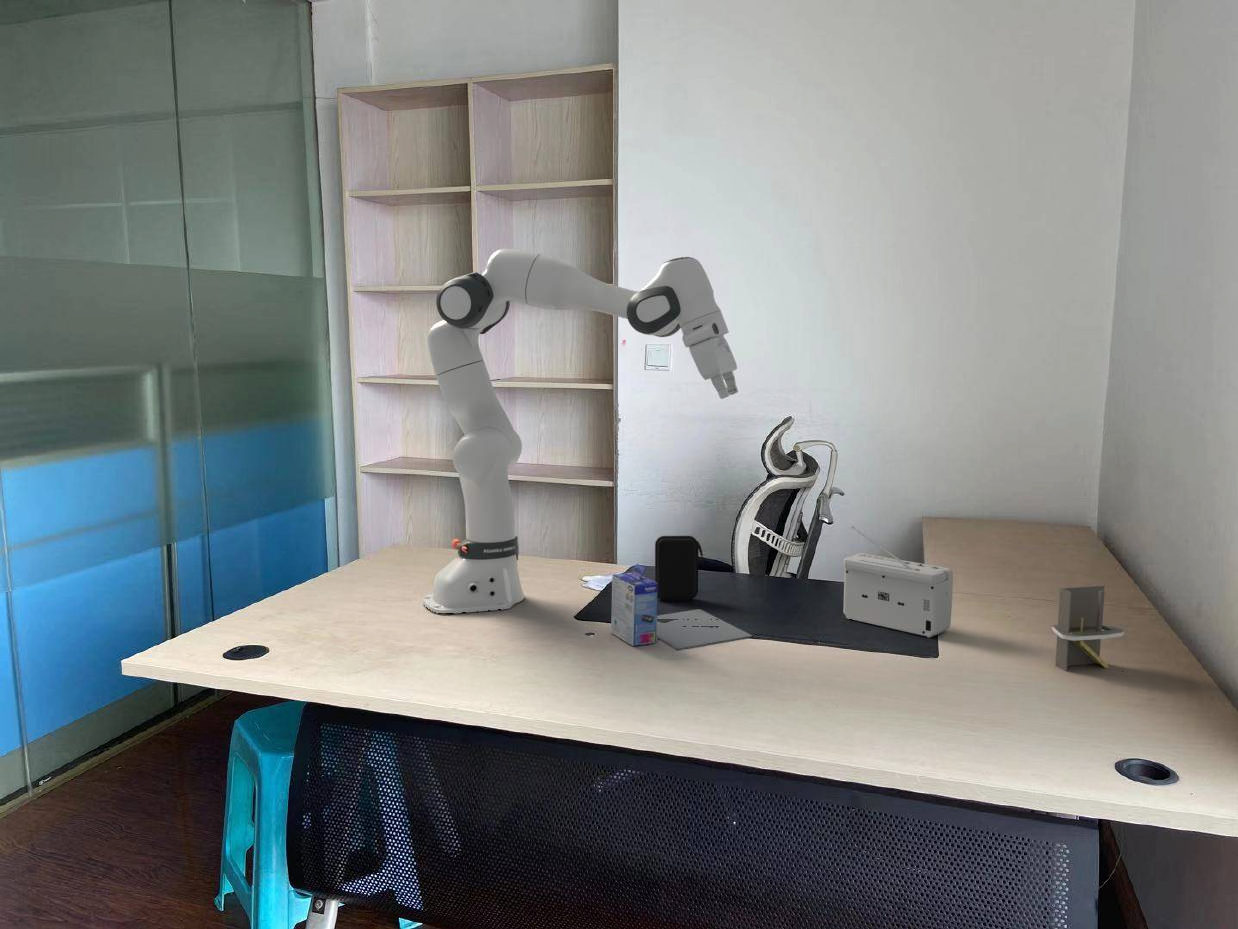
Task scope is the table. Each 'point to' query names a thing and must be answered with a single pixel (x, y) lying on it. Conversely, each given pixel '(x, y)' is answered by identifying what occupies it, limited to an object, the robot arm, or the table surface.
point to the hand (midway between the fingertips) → (729, 395)
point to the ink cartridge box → (634, 608)
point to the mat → (695, 630)
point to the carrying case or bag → (677, 567)
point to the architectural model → (1081, 626)
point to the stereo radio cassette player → (897, 593)
